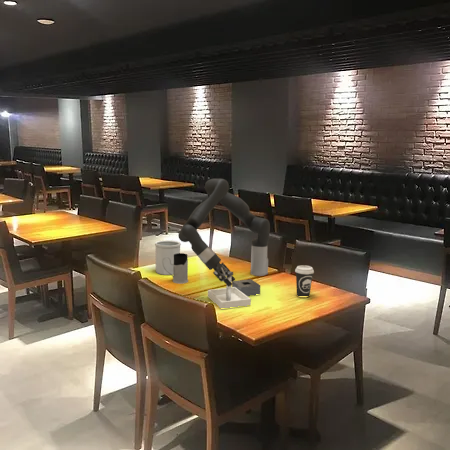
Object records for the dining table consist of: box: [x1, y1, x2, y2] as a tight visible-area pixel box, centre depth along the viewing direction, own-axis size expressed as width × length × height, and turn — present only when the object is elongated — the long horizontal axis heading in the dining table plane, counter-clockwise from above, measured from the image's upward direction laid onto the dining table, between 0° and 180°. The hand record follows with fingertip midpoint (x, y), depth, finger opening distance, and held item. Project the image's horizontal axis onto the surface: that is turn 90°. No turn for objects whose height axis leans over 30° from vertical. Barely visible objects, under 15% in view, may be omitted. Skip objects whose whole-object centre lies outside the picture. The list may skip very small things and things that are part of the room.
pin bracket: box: [231, 278, 261, 297], centre depth 259 cm, size 11×11×5 cm
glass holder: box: [163, 252, 189, 285], centre depth 274 cm, size 9×14×15 cm, turn 94°
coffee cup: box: [294, 264, 315, 297], centre depth 255 cm, size 10×10×15 cm
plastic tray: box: [207, 286, 252, 309], centre depth 246 cm, size 15×19×4 cm
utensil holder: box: [154, 239, 182, 276], centre depth 292 cm, size 15×15×18 cm
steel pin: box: [225, 270, 234, 301], centre depth 245 cm, size 4×4×14 cm
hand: (232, 283), depth 244 cm, fingers open, 7 cm apart
